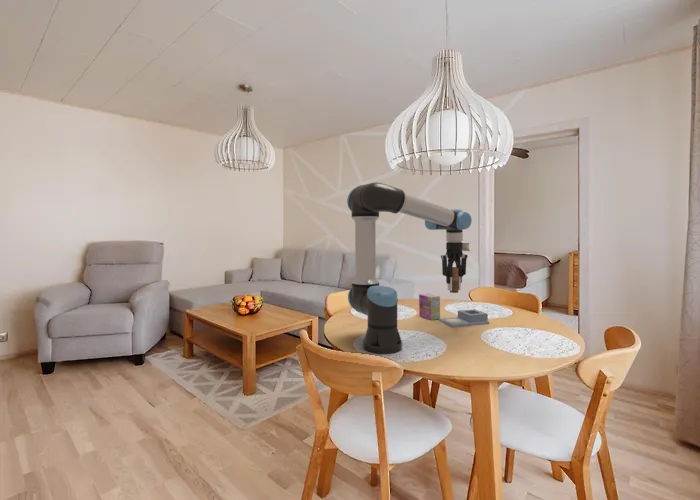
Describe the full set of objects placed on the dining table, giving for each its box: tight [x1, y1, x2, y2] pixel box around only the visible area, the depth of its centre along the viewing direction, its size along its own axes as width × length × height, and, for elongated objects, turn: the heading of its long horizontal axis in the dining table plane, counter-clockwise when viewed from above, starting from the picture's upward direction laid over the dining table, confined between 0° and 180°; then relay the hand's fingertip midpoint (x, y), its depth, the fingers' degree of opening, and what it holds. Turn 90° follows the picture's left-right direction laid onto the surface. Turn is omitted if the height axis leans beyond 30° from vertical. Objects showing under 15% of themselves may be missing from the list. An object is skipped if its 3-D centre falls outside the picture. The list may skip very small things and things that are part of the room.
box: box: [418, 292, 441, 321], centre depth 181 cm, size 10×6×12 cm, turn 25°
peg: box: [449, 266, 459, 294], centre depth 168 cm, size 4×4×12 cm
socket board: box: [438, 309, 490, 328], centre depth 171 cm, size 12×20×5 cm, turn 106°
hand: (454, 289), depth 169 cm, fingers closed on peg, 4 cm apart
